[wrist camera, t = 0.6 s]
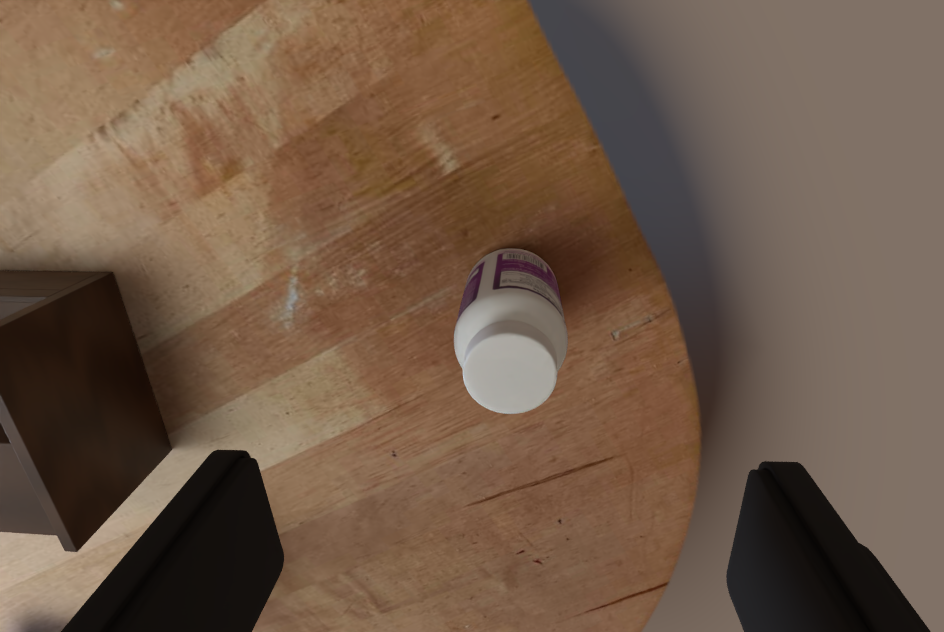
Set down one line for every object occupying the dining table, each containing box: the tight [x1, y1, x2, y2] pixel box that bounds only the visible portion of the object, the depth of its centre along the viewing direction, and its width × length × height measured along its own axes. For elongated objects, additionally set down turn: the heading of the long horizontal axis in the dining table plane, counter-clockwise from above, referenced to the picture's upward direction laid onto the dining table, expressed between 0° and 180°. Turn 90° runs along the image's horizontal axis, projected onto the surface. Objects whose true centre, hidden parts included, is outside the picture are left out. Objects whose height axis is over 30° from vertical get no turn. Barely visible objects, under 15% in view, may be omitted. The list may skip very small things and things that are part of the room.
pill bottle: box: [454, 248, 568, 414], centre depth 26 cm, size 5×5×10 cm
